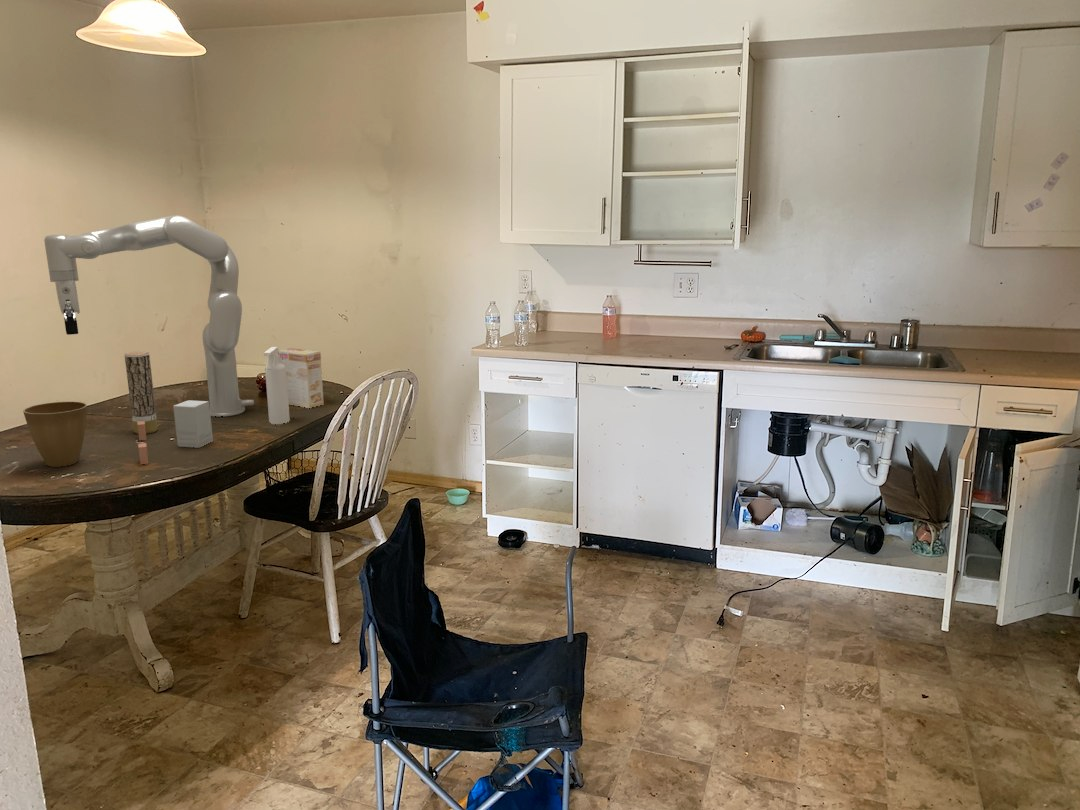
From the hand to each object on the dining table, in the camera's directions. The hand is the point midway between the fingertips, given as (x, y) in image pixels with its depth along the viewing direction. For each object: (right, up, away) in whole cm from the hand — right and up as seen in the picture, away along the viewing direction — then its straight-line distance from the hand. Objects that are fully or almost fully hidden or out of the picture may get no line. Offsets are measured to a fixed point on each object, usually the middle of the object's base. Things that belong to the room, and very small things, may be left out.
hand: (72, 332), depth 249 cm
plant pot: (+13, -39, -27) cm, 49 cm away
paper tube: (+21, -31, +4) cm, 38 cm away
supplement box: (+42, -34, -9) cm, 55 cm away
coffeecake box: (+59, -23, +40) cm, 75 cm away
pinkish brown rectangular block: (+29, -36, -15) cm, 49 cm away
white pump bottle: (+59, -28, +17) cm, 68 cm away
